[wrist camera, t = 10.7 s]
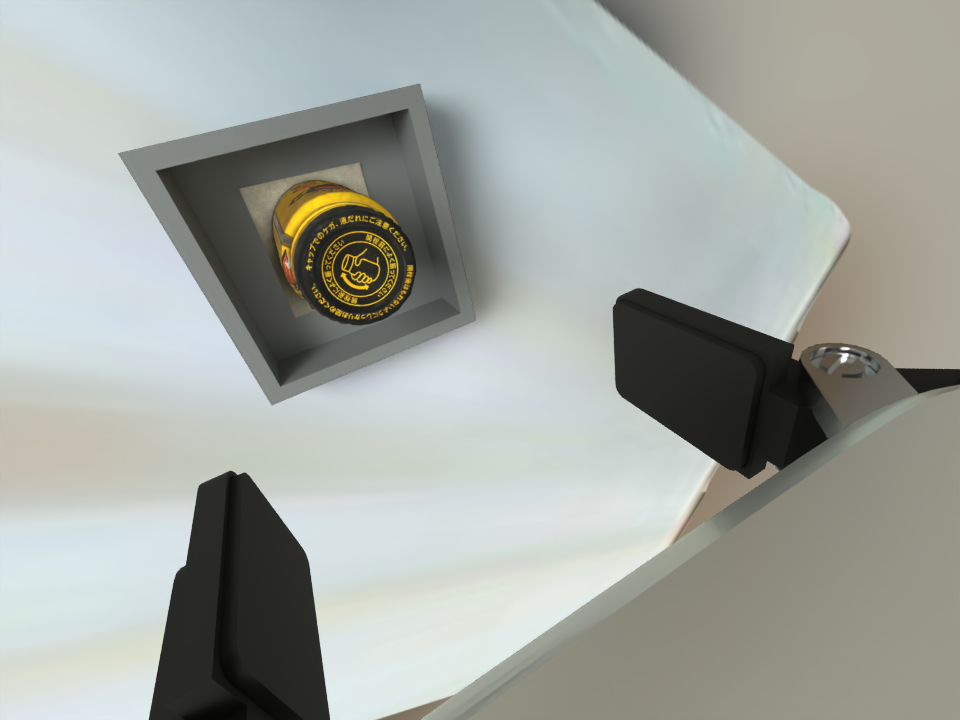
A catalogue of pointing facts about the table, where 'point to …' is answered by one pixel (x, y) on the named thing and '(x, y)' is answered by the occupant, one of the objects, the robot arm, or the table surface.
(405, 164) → the box
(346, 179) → the condiment
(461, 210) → the table surface
